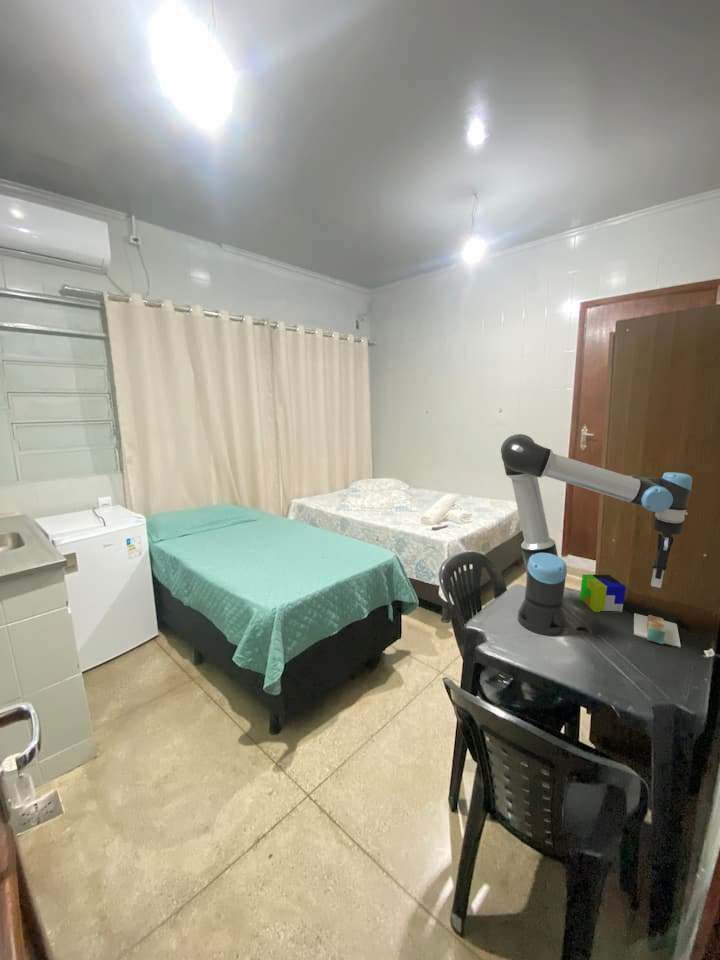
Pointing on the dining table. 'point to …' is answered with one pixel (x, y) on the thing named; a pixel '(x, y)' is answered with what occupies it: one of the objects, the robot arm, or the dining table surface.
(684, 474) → the robot arm
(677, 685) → the dining table surface
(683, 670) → the dining table surface
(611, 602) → the puzzle toy
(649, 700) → the dining table surface
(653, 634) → the block
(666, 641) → the mat
